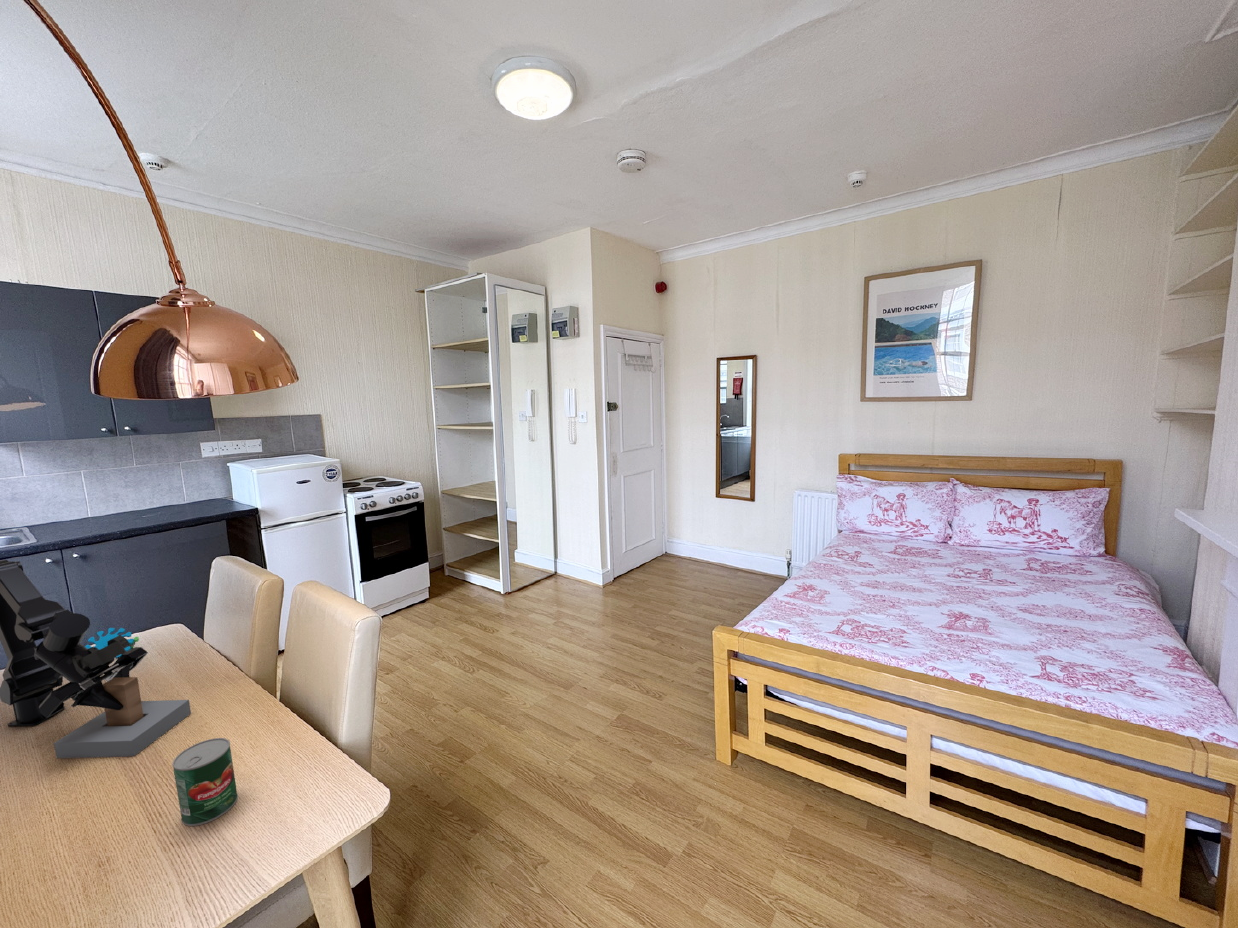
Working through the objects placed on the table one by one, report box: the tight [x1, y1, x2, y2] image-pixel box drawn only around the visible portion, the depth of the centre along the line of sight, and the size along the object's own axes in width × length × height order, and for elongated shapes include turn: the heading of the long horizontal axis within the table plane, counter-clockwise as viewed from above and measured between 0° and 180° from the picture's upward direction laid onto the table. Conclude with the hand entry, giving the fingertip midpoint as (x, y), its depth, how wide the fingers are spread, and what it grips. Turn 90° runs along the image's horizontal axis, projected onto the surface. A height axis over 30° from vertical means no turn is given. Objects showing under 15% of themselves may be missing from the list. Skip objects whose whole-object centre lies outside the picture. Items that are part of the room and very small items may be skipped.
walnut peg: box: [102, 676, 144, 726], centre depth 109 cm, size 5×3×12 cm, turn 91°
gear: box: [84, 627, 140, 659], centre depth 146 cm, size 11×6×10 cm
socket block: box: [53, 699, 192, 759], centre depth 110 cm, size 16×14×4 cm
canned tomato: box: [171, 737, 239, 827], centre depth 89 cm, size 8×8×11 cm
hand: (129, 703), depth 109 cm, fingers closed on walnut peg, 3 cm apart
